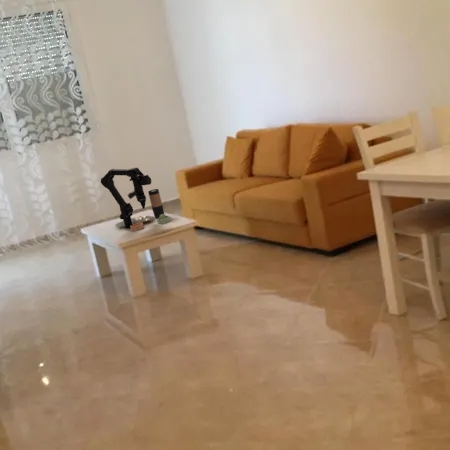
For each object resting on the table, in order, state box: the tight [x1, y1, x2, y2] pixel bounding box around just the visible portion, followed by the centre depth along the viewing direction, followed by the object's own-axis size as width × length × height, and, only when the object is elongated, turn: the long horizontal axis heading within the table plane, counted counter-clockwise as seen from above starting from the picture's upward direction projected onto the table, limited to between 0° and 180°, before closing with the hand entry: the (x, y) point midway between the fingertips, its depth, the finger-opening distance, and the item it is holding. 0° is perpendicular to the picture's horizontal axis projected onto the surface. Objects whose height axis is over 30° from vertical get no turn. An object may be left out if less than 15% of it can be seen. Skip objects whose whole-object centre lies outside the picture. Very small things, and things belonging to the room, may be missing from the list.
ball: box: [159, 213, 167, 219], centre depth 483 cm, size 5×5×5 cm
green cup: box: [156, 215, 171, 225], centre depth 484 cm, size 8×8×3 cm
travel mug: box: [147, 188, 165, 220], centre depth 499 cm, size 8×8×20 cm
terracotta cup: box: [129, 222, 145, 232], centre depth 481 cm, size 8×8×3 cm
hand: (143, 207), depth 486 cm, fingers open, 9 cm apart
